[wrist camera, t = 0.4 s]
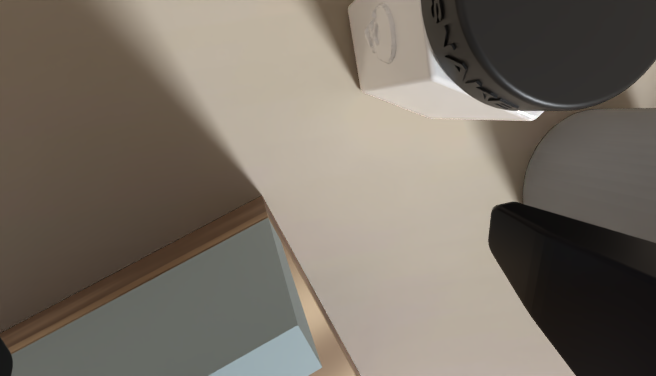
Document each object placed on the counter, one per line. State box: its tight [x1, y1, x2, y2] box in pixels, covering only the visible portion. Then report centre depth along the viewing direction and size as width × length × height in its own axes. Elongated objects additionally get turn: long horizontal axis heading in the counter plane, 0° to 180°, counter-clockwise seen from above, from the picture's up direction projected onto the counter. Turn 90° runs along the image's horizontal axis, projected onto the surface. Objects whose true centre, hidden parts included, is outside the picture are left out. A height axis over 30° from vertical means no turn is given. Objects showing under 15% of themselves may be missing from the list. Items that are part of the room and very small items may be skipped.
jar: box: [348, 0, 656, 121], centre depth 19 cm, size 9×8×12 cm
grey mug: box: [523, 108, 656, 243], centre depth 24 cm, size 13×10×10 cm
